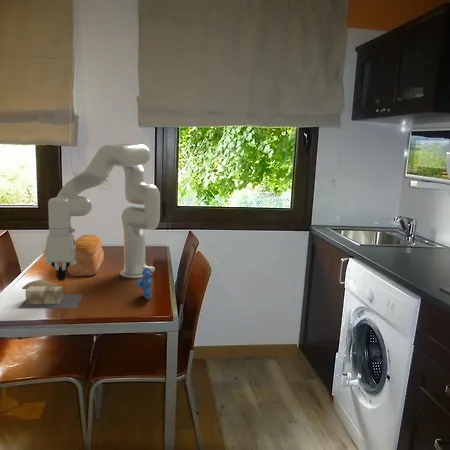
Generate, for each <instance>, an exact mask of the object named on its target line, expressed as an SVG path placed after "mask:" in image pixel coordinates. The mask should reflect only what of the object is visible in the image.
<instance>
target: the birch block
mask: <svg viewBox="0 0 450 450" xmlns="http://www.w3.org/2000/svg"><path fill="white" fill-rule="evenodd" d="M63 295H64V286H62V285H59V286H30V287H29V288H28V289H27V290H26V289H25V300H26V304H60V303H61V301H62V300H63Z"/></svg>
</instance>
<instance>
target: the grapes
mask: <svg viewBox="0 0 450 450" xmlns="http://www.w3.org/2000/svg"><path fill="white" fill-rule="evenodd" d="M142 273H143V274H144V275H143V277H141V278H138V280H137V282H136V283H135V285H137V287H138V288H141V289H142V291H143V292H142V295H143V297H144V298H145V300H149V299H150V298H151V297H152V292H153V290H152V289H151V287H152V285H153V284H154V282H153V280H152V279H151V277H152V276H153V275H152V271H151V270H150V269H149V268H148V267H146V268H145V269H144V270H143V272H142Z"/></svg>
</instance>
